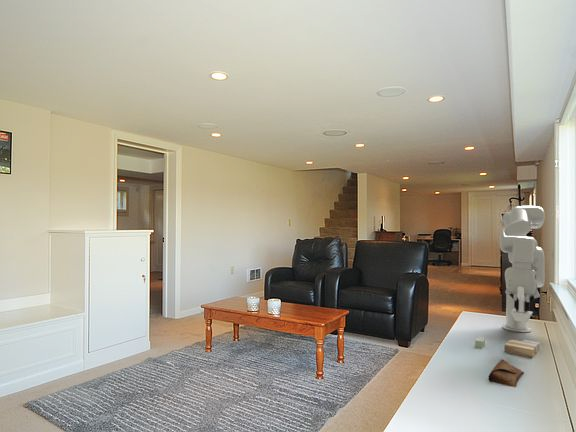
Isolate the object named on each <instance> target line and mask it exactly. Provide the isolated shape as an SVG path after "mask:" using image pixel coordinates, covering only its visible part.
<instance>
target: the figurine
mask: <svg viewBox="0 0 576 432" xmlns="http://www.w3.org/2000/svg"><path fill="white" fill-rule="evenodd" d="M517 297H518V310H516V309H513V310H512V311H511V314H512V316H513V318H514V320H516V321H522V322H527V323H528V322H529V320H530V319H531V316H532V315H533V313H534V311H531V310H528V311H527V312H525V302H526V294H524V288H523V287H518V289H517Z"/></svg>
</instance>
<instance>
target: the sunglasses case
mask: <svg viewBox="0 0 576 432" xmlns="http://www.w3.org/2000/svg"><path fill="white" fill-rule="evenodd" d="M524 374H525V372H524V371H523V370H521V369H519V368H517V367H515V366H514V365H512V364H511V363H509V362H508V361H506V360H505V359H503V358H502V359H501V360H500V361H499V362H498V363H496V365H495V366H494V367H493V368H492V370H491V371H490V373H489V375H488V381H489V382H490V383H493V384H499V385H502V386H503V385H504V386H507V387H513V388H517V385H518V382H519V380H520V379H521V377H522V376H523V375H524Z"/></svg>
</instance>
